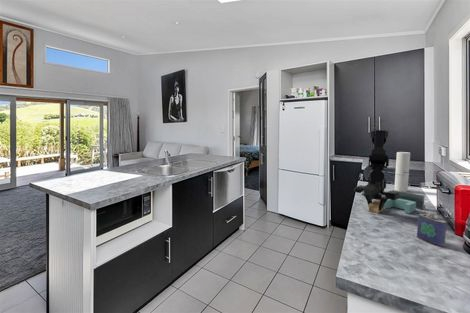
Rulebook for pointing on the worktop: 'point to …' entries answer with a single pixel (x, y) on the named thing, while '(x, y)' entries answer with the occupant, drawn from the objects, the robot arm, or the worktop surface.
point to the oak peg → (375, 206)
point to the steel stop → (413, 198)
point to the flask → (431, 229)
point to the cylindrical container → (402, 171)
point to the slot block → (401, 205)
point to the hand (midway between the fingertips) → (375, 209)
